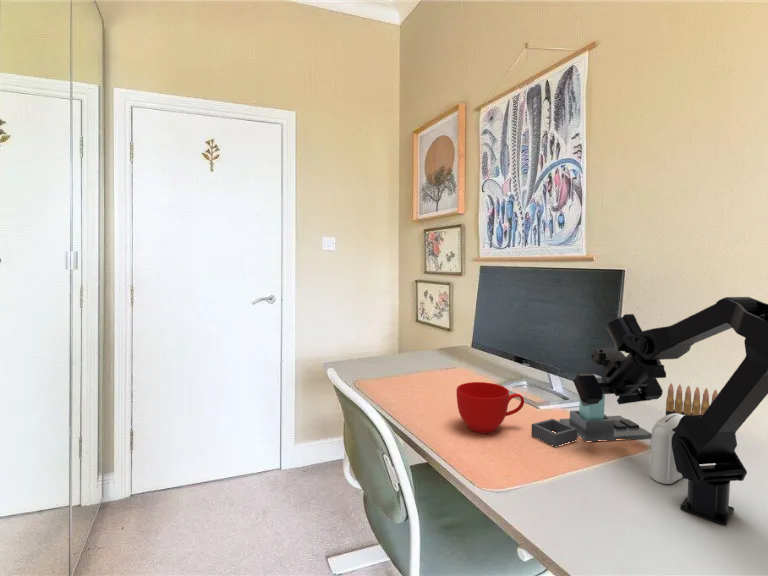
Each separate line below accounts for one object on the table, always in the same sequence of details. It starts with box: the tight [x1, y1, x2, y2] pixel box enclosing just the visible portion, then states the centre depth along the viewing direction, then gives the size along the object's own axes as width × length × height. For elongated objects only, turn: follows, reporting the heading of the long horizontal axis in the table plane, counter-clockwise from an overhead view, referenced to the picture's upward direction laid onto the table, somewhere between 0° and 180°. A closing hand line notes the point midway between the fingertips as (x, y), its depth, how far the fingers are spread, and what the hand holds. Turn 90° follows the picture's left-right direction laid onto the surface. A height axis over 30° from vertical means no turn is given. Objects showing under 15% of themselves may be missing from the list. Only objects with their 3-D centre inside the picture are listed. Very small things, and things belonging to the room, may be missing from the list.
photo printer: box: [649, 413, 686, 485], centre depth 87 cm, size 10×4×12 cm, turn 123°
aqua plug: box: [578, 373, 606, 420], centre depth 109 cm, size 4×4×13 cm
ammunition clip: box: [664, 382, 719, 416], centre depth 107 cm, size 11×2×12 cm, turn 55°
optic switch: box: [558, 409, 652, 442], centre depth 110 cm, size 12×17×4 cm
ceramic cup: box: [455, 381, 525, 434], centre depth 111 cm, size 13×17×10 cm
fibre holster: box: [530, 418, 578, 448], centre depth 105 cm, size 7×7×3 cm
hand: (600, 403), depth 105 cm, fingers open, 9 cm apart
